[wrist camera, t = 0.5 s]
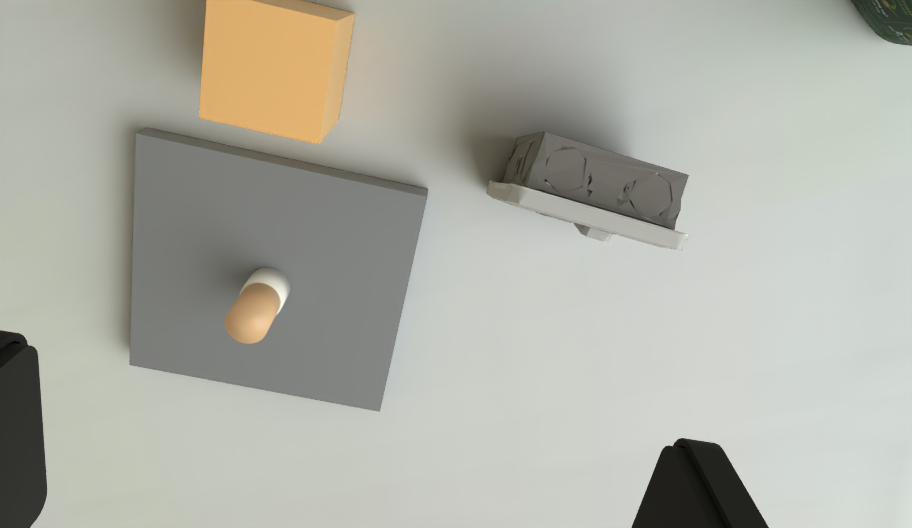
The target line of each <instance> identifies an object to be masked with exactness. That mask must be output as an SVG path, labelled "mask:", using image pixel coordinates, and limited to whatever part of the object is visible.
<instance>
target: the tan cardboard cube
mask: <svg viewBox="0 0 912 528" xmlns="http://www.w3.org/2000/svg"><path fill="white" fill-rule="evenodd" d="M354 18H355V13H352V12H348V11H343V10H339V9H335V8H331V7H327V6H323V5H319V4H314V3H310V2H306V1H302V0H207V1H206V17H205V32H204V47H203V62H202V78H201V93H200V108H199V118H202V119H206V120H211V121H215V122H220V123H224V124H229V125H233V126H238V127H242V128H247V129H251V130H256V131H260V132H265V133H269V134H274V135H278V136H283V137H287V138H292V139H296V140H301V141H305V142H310V143H314V144H320V143H321V142H322V140H323V139H324V138H325V136H326V135H327V134H328V133H329V131H330V130H331V129H332V128H333V126H334V125H335V124H336V123H337V121H338V120H339V116H340V109H341V103H342V96H343V90H344V83H345V77H346V70H347V64H348V57H349V51H350V44H351V38H352V31H353V25H354Z"/></svg>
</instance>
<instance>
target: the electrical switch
mask: <svg viewBox="0 0 912 528" xmlns="http://www.w3.org/2000/svg"><path fill="white" fill-rule="evenodd" d="M542 135H543V132H539V133H535V134H531V135H527V136H524V137H520V138H517V140H516V143H515V147H514V151H513V154H512V157H511V158H509V159H508V165H507V169H506V172H505V176H504V179H503V181H502V183H498V182H495V181H492V180H490V181H489V185H488V190H487V194H488V195H489V196H491V197H493V198H495V199H498V200H500V201H503V202H506V203H509V204H511V205H514V206H517V207H521V208H524V209H528V210H531V211H535V212H536V213H539V214H542V215H545V216H549V217H552V218H556V219H559V220H563V221H566V222H570V223H571V222H574V224H575V226H576V227H577V228H578V230H579V231H580V233H581V234H583V235H585V236H587V237H590V238H594V239H597V240H600V241H603V242H610V239H611V236H612V234H616V235H619V236H623V237H626V238H630V239H633V240H637V241H640V242H644V243H647V244H651V245H654V246H658V247H662V248H670V249H676V250H683V248H684V245H685V243H686V240H687V238H688V235H687V234H685V233H681V232H678V231H675V230H674V229H675V223H676V219H677V217H678V214H679V212H680V208H681V197H682V194H683V191H684V188H685V185H686V182H687V179H688V176H689V175H687V174H683V173H680V172H677V171H674V170H670V169H667V168H664V167H660V166H657V165H654V164H650V163H647V162H644V161H640V160H637V159H634V158H631V157H627V156H624V155H621V154H617V153H614V152H611V151H607V150H604V149H601V148H597V147H594V146H591V145H587V144H584V143H581V142H578V141H574V140H571V139H568V138H564V137H561V136H558V135H554V134H551V133H548V132H545V133H544V136H543V139H542ZM541 139H542V142H541ZM540 143H541V146H540ZM564 146H565V147H564ZM562 147H563V148H562ZM656 173H658V174H656Z"/></svg>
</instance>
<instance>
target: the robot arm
mask: <svg viewBox="0 0 912 528" xmlns="http://www.w3.org/2000/svg"><path fill="white" fill-rule="evenodd" d="M46 496H47V481H46V466H45V451H44V437H43V422H42V407H41V392H40V378H39V363H38V354H37V350H36V349H35V347H33V346H29V345H28V344H27V340H26V339H25V337H24V336H23V335H21V334H19V333H13V332H7V331H0V528H30V527H31V525H32V524H33V523H34V522H35V520H36V519H37V518H38V516H39V515H40V513H41V511H42V509H43V506H44V504H45V501H46ZM632 528H769V527H768V526H767V524H766V522H765V521H764V519H763V517H762V515H761V514H760V512H759V510H758V509H757V507H756V505H755V503H754V502H753V500H752V498H751V497H750V495H749V493H748V492H747V490H746V488H745V486H744V485H743V483H742V481H741V480H740V478H739V476H738V474H737V473H736V471H735V469H734V468H733V466H732V464H731V463H730V461H729V459H728V457H727V456H726V454H725V452H724V451H723V449H722V448H721V447H720V446H719V445H718V444H715V443H710V442H704V441H697V440H691V439H685V438H681V439H678V440H677V441H676V442H675V443H674V445H673V446H666V447H665V448H664V449H663V450H662V452H661V454H660V457H659V459H658V462H657V464H656V467H655V469H654V472H653V474H652V477H651V479H650V482H649V485H648V487H647V490H646V492H645V495H644V497H643V500H642V502H641V505H640V507H639V510H638V513H637V515H636V518H635V520H634V523H633V525H632Z"/></svg>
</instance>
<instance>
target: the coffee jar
mask: <svg viewBox="0 0 912 528" xmlns="http://www.w3.org/2000/svg"><path fill="white" fill-rule="evenodd" d="M852 2H853V3H854V5H855V6H856V8H857V10H858V11H859V13H860V14H861V15H862V17H863V18H864V19H865V21H866V22H867V23H868V24H869V26H870V27H871V28H872V29H873V30H874V31H875V33H876V34H877V35H879V36H880V37H881V38H883V39H885V40H887V41H889V42H892V43H895V44H902V45H912V0H852Z"/></svg>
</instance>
